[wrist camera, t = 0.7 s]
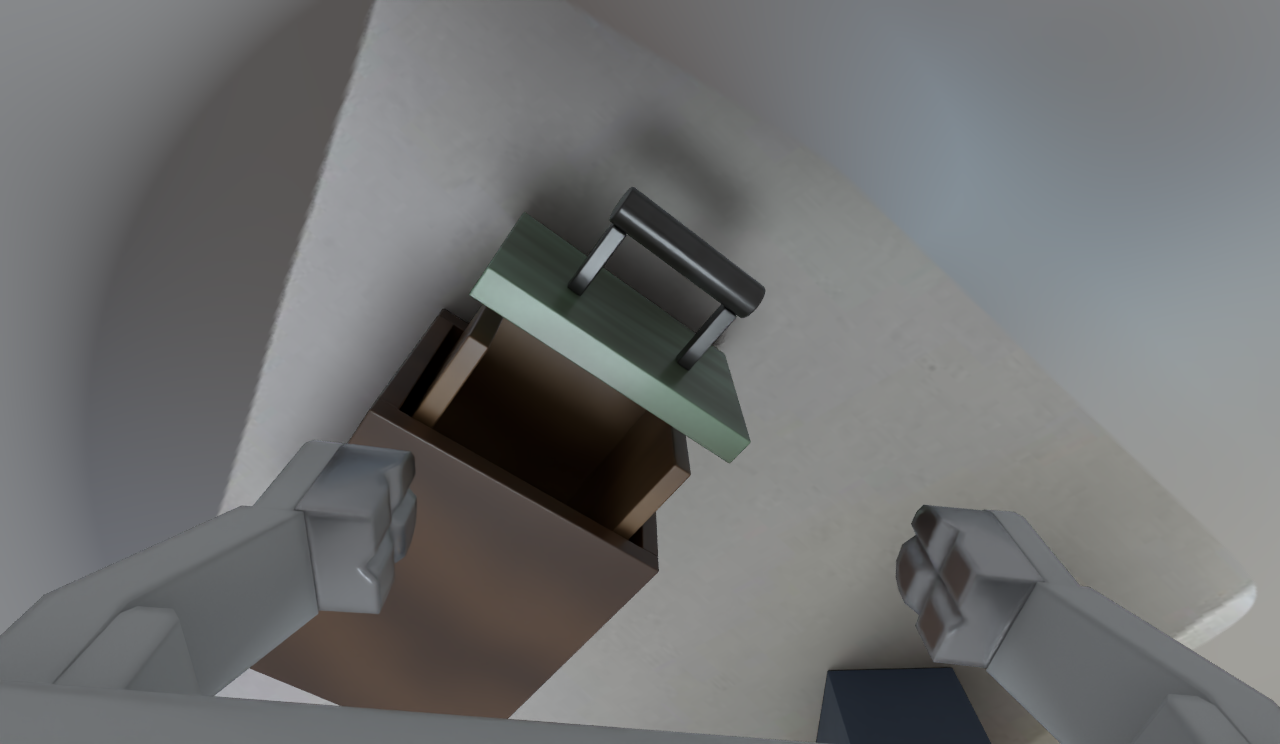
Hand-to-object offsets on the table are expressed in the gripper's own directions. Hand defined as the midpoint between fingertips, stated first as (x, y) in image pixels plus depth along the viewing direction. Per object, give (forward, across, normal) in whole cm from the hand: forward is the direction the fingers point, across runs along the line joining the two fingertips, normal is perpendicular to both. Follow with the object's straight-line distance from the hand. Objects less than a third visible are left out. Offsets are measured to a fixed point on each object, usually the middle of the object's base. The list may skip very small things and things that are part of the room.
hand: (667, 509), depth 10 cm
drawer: (+18, +3, +7) cm, 20 cm away
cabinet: (+19, +7, +15) cm, 25 cm away
